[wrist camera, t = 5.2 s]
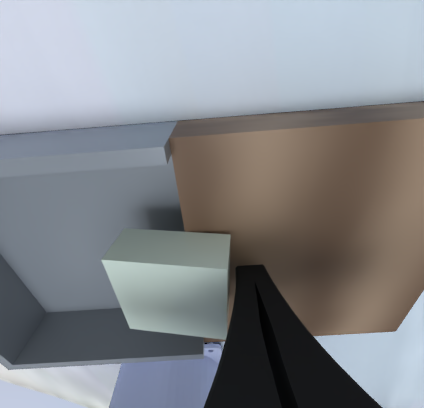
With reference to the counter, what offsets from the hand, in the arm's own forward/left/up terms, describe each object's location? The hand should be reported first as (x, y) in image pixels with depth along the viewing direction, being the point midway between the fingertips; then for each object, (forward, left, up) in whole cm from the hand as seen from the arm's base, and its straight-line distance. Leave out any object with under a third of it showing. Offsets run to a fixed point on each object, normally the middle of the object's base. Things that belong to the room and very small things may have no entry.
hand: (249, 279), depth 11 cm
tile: (-3, 0, -1) cm, 3 cm away
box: (-9, 0, -4) cm, 10 cm away
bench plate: (+4, 0, -4) cm, 5 cm away
